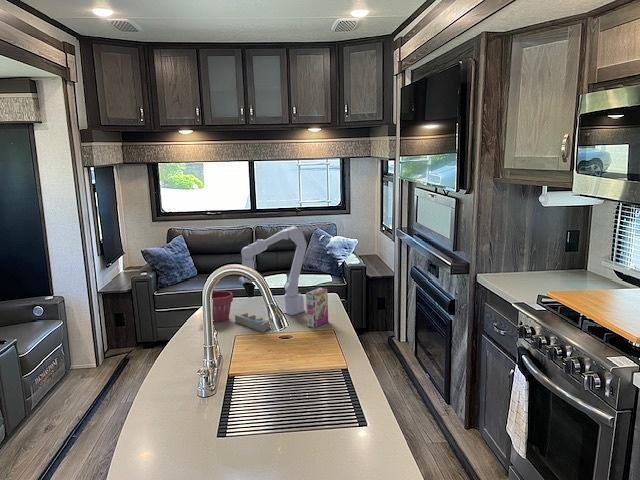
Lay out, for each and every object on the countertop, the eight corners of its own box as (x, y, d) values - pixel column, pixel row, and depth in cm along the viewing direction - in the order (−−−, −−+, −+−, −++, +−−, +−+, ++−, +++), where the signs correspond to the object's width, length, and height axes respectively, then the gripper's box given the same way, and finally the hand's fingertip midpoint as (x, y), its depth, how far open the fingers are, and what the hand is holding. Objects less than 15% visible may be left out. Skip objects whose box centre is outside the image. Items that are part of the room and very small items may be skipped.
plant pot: (238, 315, 242) (236, 290, 240) (227, 324, 229) (225, 298, 227) (212, 314, 246) (210, 290, 243) (200, 323, 232) (197, 298, 230)
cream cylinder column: (279, 320, 232) (278, 313, 231) (284, 321, 229) (283, 314, 229) (257, 328, 223) (257, 320, 222) (262, 329, 220) (261, 321, 220)
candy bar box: (315, 328, 218) (313, 294, 215) (306, 326, 221) (305, 292, 218) (329, 321, 227) (327, 288, 224) (320, 319, 230) (319, 287, 227)
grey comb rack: (245, 318, 236) (244, 310, 235) (273, 328, 220) (272, 320, 220) (235, 321, 232) (234, 313, 231) (262, 332, 216) (262, 323, 215)
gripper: (233, 270, 238) (235, 296, 240) (250, 274, 228) (252, 301, 230) (245, 267, 243) (246, 293, 245) (262, 271, 233) (264, 298, 235)
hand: (250, 297), depth 238 cm, fingers closed
